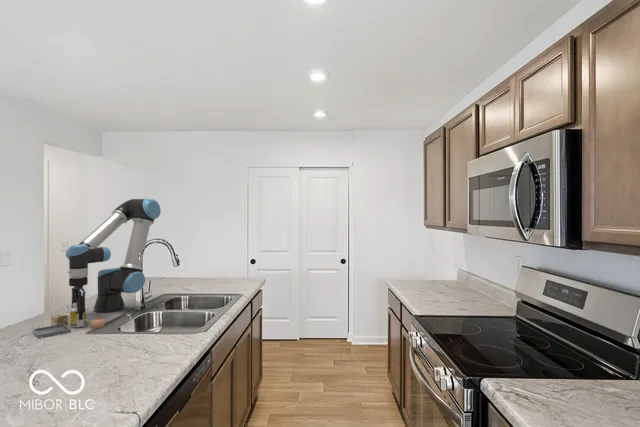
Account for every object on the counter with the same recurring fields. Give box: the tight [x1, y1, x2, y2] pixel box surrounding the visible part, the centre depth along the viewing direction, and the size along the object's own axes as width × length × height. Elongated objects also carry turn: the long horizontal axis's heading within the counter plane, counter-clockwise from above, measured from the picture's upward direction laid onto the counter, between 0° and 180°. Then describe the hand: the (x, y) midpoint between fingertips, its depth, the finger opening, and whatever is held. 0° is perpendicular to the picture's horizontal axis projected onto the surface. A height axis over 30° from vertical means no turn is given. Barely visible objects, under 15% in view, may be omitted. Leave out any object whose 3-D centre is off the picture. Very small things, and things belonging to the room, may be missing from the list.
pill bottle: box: [69, 302, 87, 328], centre depth 179 cm, size 6×6×11 cm
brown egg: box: [89, 317, 106, 330], centre depth 178 cm, size 6×6×4 cm
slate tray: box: [32, 324, 72, 339], centre depth 169 cm, size 12×12×2 cm
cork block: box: [50, 313, 69, 326], centre depth 180 cm, size 5×5×5 cm
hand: (78, 325), depth 179 cm, fingers closed on pill bottle, 6 cm apart
